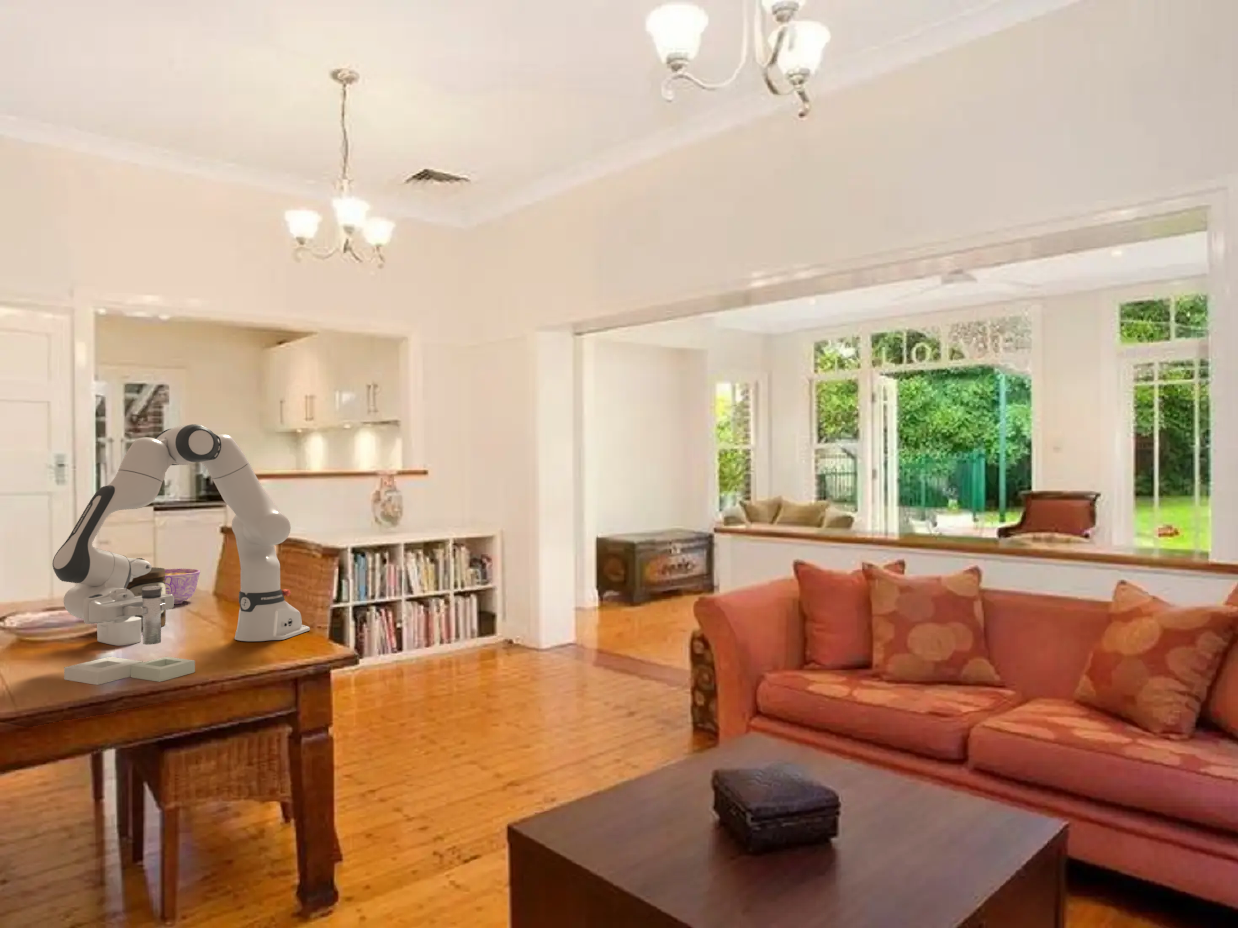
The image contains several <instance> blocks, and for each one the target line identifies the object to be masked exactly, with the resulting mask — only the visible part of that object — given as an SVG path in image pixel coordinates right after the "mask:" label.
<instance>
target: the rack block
mask: <svg viewBox="0 0 1238 928" xmlns="http://www.w3.org/2000/svg"><path fill="white" fill-rule="evenodd" d="M195 672H196V660H194V659H188V658H187V659H186V658H178V657H172V656H164V657H160V658H155V659H152V660H147V661H143V663H139V664H135V665H131V676H130V677H131V678H132V679H138V680H139V679H140V680H146V681H152V682H159V683H161V682H164V681H168V680H172V679H175V678H178V677H183V676H186V675H190V674H193V673H195Z"/></svg>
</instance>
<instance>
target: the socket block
mask: <svg viewBox="0 0 1238 928" xmlns="http://www.w3.org/2000/svg"><path fill="white" fill-rule="evenodd" d="M143 662H144V661H143V660H136V659H129V658H121V657H115V656H108V657H104V658H99V659H95V660H91V661H85V662H80V663H77V664H72V665H69V666H65V667H64V668H63V670H64V671H63V678H64V679H63V680H65V681H71V682H79V683H82V684H83V683H84V684H90V685H96V686H99V685H103V684H106V683H107V684H108V683H111V682H114V681H118V680H123V679H126V678H130V677H131V665H135V664H139V663H143Z"/></svg>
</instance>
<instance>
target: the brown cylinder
mask: <svg viewBox="0 0 1238 928" xmlns="http://www.w3.org/2000/svg"><path fill="white" fill-rule="evenodd" d="M135 559H140V560H145V559H144V558H143V557H139V558H138V557H137V558H135ZM165 569H166V568H163V567H152V568H151V571H150V572H149V573H147V574H145V575H142V576H139V577H136V578H133V580H132V582H129V583H128V586H127V587H126V589H128V590H130V591H131V592H132V593H133V594H134V596H135V597H137V596H142V587H146V586H161V594H166V593H165ZM166 612H167V609H166V610H163V611H161V628H162V627H164V626H165V625H166V623H167V622H166V620H167V619H166V618H167V617H166V616H167V614H166ZM135 617H140V618H141V631H143V615H135Z"/></svg>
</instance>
